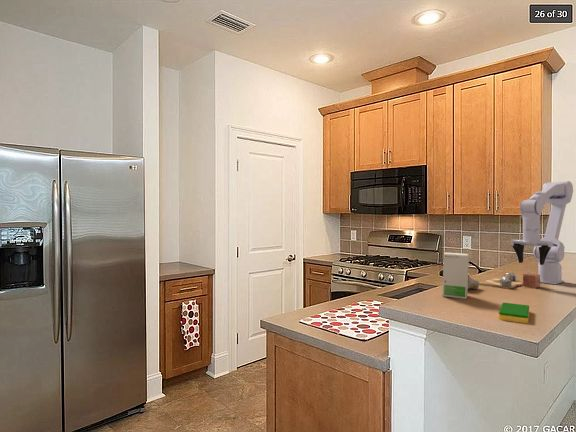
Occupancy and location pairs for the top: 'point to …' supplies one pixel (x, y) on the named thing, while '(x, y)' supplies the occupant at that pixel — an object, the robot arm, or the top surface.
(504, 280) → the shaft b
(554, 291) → the top surface
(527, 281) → the reddish brown block
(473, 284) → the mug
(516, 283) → the base board
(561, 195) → the robot arm
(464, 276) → the skincare box
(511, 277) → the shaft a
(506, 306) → the dish sponge
